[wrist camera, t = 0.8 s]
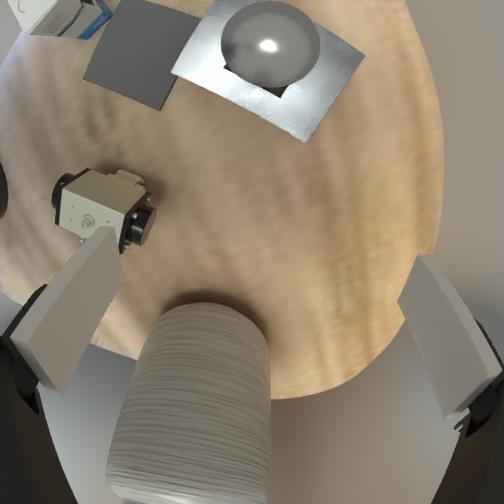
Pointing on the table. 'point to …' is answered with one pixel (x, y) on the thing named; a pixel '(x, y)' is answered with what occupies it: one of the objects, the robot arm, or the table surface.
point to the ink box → (60, 17)
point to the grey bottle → (270, 44)
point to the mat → (141, 51)
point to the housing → (256, 98)
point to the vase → (196, 413)
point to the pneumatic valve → (104, 205)
